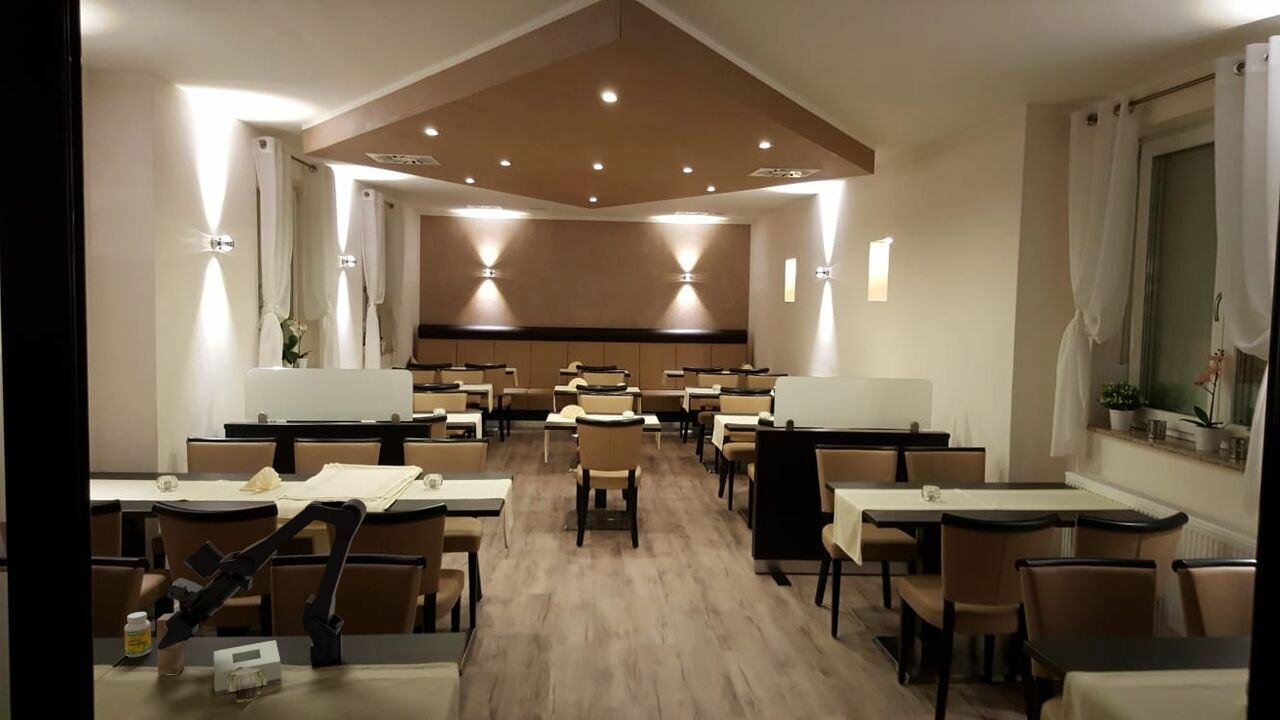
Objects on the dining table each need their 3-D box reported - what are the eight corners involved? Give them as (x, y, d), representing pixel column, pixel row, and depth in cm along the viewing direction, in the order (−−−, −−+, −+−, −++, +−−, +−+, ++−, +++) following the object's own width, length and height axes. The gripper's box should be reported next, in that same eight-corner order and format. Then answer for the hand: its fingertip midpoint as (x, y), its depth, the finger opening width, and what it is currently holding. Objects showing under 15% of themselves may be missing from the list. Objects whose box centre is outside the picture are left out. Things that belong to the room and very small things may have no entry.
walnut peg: (184, 667, 180) (183, 612, 179) (176, 674, 176) (175, 619, 175) (165, 668, 179) (164, 613, 178) (157, 676, 175) (156, 620, 175)
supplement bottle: (151, 646, 191) (150, 609, 190) (151, 654, 186) (150, 615, 186) (125, 651, 188) (124, 613, 188) (124, 659, 184) (123, 620, 183)
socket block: (276, 660, 184) (275, 640, 183) (280, 682, 172) (280, 660, 172) (214, 672, 177) (213, 651, 177) (214, 696, 166) (214, 673, 166)
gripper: (207, 555, 186) (159, 602, 185) (174, 581, 168) (120, 633, 167) (242, 586, 188) (194, 632, 187) (213, 614, 170) (160, 666, 168)
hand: (168, 640), depth 177 cm, fingers open, 9 cm apart
